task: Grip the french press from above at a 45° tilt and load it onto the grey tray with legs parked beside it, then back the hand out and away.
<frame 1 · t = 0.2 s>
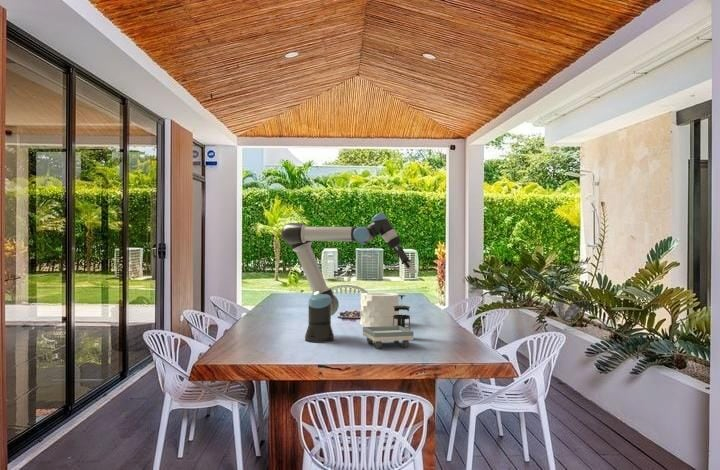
hand: (413, 273, 322), 35 cm above the table, tool tilted 35°, fingers open, 13 cm apart
grey tray with legs: (387, 345, 306), on the table
french press: (401, 338, 328), on the table
basket: (378, 325, 376), on the table
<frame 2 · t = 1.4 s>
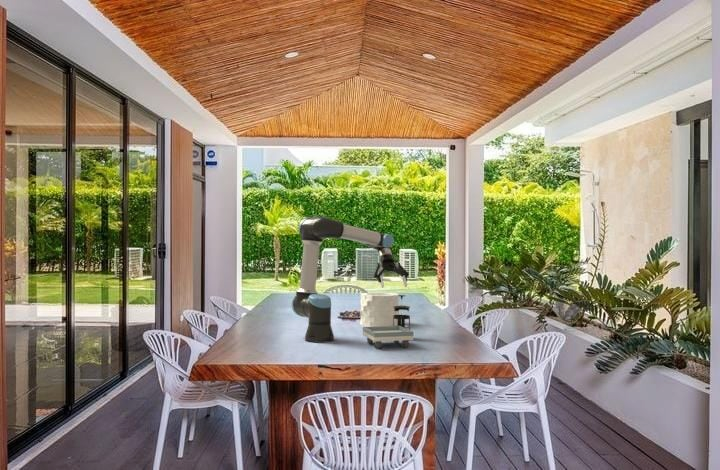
hand: (394, 286, 340), 27 cm above the table, tool tilted 45°, fingers open, 13 cm apart
nothing on the table moved.
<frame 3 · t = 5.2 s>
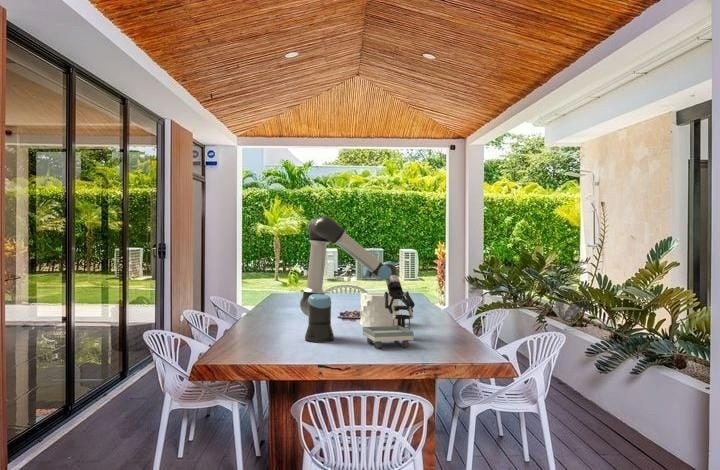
hand: (403, 317, 325), 11 cm above the table, tool tilted 45°, fingers closed on french press, 9 cm apart
french press: (401, 338, 328), on the table, touching gripper
everything else where it was.
when the fingers open (19 cm above the table, at t = 12.2 s): french press drops 1 cm, resting on grey tray with legs.
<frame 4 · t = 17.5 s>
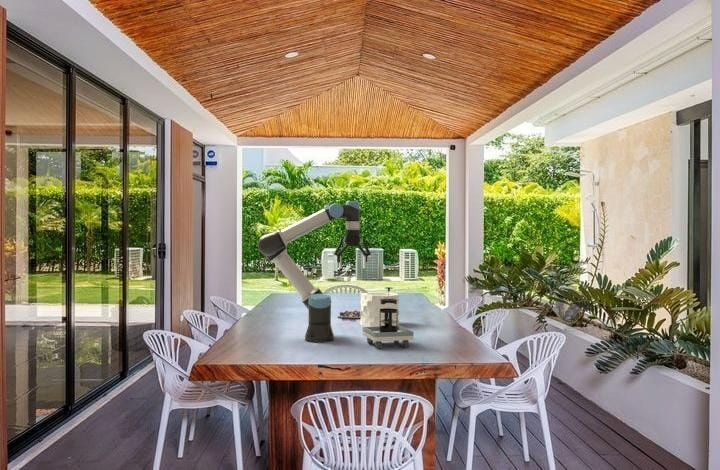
hand: (352, 268, 334), 37 cm above the table, tool pointing down, fingers open, 13 cm apart
french press: (388, 333, 306), point 6 cm above the table, touching grey tray with legs
everything else where it was.
at the end: french press inside the target area on the grey tray with legs (0.4 cm from its centre), point 5.8 cm above the grey tray with legs's base; french press tilted 0°; the gripper is holding nothing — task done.
